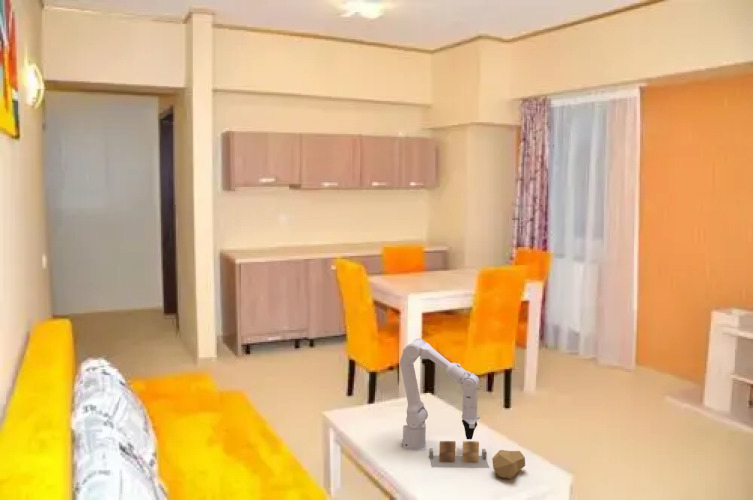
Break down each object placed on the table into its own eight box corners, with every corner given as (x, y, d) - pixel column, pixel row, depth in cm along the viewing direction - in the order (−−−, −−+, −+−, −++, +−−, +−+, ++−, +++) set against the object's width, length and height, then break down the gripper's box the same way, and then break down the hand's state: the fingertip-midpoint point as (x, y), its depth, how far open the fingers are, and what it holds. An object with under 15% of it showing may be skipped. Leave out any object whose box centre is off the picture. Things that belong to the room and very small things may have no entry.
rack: (431, 468, 246) (431, 459, 246) (429, 456, 256) (429, 448, 256) (489, 469, 246) (489, 460, 246) (485, 457, 256) (485, 448, 256)
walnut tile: (439, 462, 251) (439, 442, 249) (439, 460, 252) (439, 440, 251) (455, 462, 251) (455, 442, 249) (454, 460, 252) (455, 440, 251)
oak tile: (462, 462, 251) (463, 442, 249) (462, 460, 252) (462, 441, 251) (478, 462, 251) (479, 442, 249) (477, 460, 252) (478, 441, 251)
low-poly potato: (495, 486, 234) (524, 476, 230) (483, 456, 237) (512, 446, 234) (504, 479, 247) (532, 470, 244) (493, 451, 251) (520, 441, 247)
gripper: (483, 412, 247) (482, 446, 248) (477, 398, 261) (476, 431, 263) (464, 412, 247) (463, 446, 248) (459, 398, 261) (458, 431, 263)
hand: (469, 438), depth 256 cm, fingers closed
